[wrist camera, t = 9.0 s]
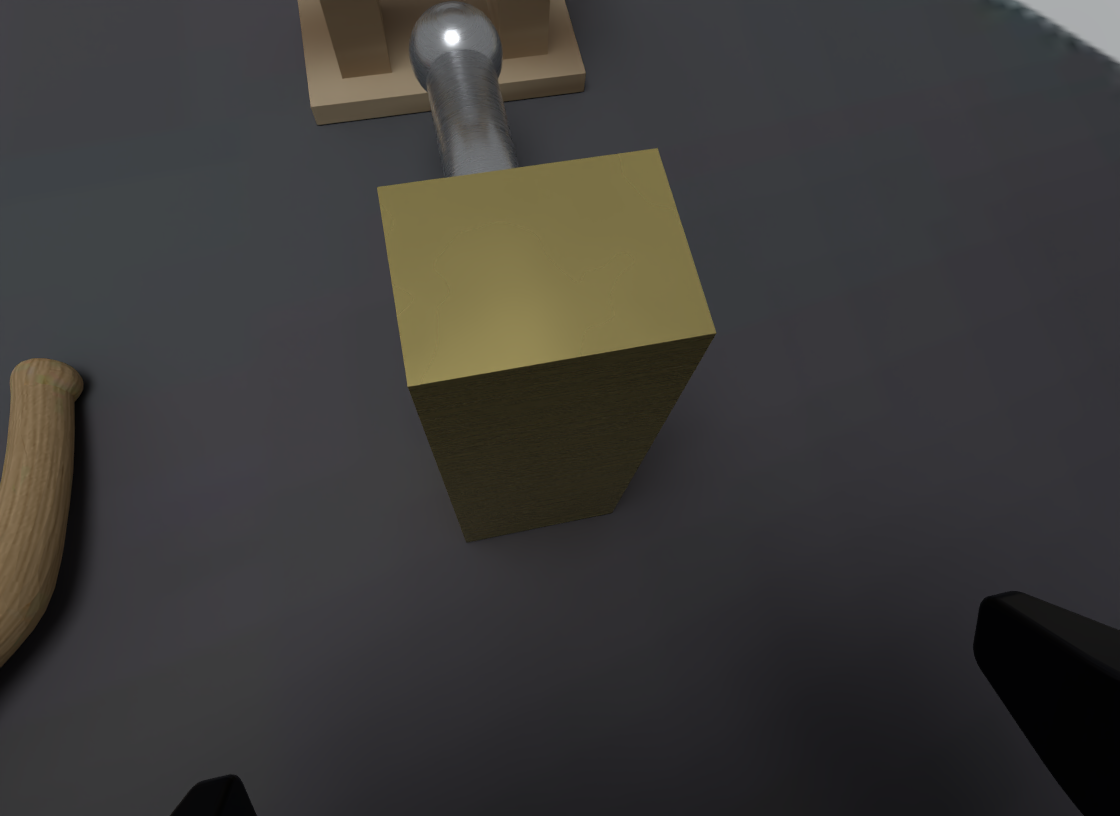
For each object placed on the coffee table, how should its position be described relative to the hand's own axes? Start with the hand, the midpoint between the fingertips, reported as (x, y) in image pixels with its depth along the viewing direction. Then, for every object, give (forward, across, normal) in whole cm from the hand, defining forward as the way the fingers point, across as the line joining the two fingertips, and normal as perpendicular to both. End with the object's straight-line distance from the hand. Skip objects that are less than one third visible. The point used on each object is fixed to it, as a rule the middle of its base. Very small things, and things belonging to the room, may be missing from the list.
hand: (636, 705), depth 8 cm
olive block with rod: (+15, 0, 0) cm, 15 cm away
